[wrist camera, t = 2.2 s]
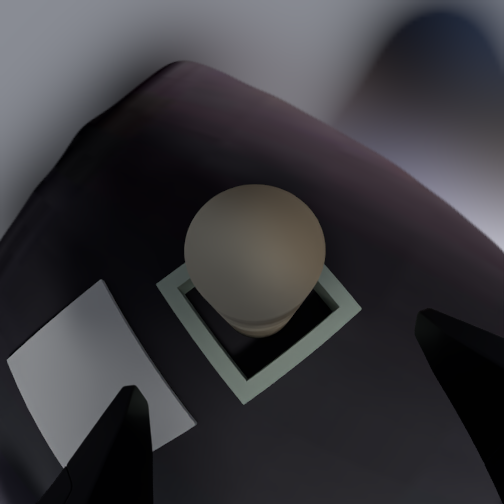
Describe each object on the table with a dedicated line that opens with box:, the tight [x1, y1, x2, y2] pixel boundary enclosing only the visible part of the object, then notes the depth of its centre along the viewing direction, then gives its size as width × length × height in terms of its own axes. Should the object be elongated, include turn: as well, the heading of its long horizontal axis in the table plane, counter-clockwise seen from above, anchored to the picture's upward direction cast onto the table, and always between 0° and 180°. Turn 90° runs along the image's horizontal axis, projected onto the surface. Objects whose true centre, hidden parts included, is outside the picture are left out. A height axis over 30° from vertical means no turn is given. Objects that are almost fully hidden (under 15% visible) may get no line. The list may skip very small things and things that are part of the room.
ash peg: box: [184, 184, 325, 338], centre depth 15 cm, size 4×4×11 cm
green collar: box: [156, 263, 362, 405], centre depth 19 cm, size 9×9×2 cm
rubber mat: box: [7, 279, 197, 468], centre depth 18 cm, size 12×12×1 cm
